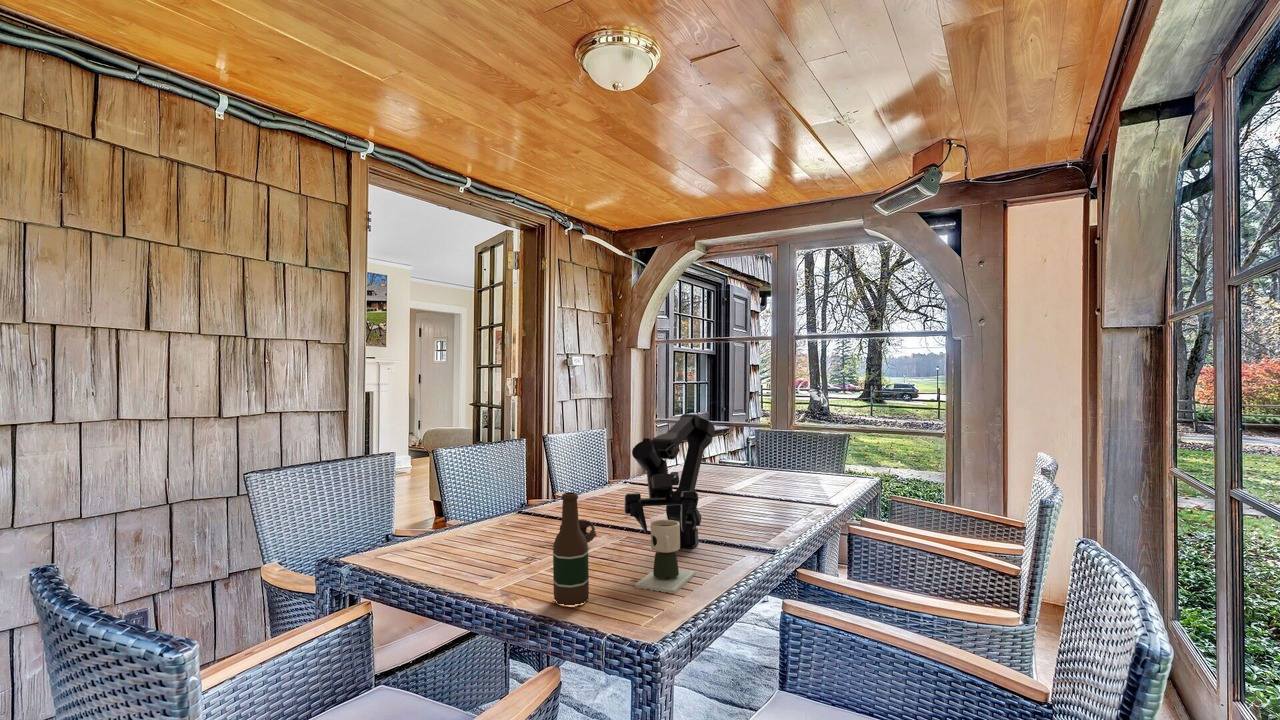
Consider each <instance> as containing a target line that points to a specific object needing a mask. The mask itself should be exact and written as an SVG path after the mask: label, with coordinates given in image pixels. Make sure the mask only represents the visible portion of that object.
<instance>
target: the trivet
mask: <svg viewBox="0 0 1280 720" xmlns="http://www.w3.org/2000/svg"><path fill="white" fill-rule="evenodd" d="M678 570H679V575H678V576H675V577H669V578H668V579H666V578H657V577H655V576H654V573H653V570H652V571H651V572H649V573H648V574H647V575H646V576H644V577H643V578H642V579H639V581H638V582H636V583H635V584H634V588H635V587H636V588H635V589H639V588H644V589H643V590H646V589H650V590H649V591H653V590H655V591H654V592H659V591H661V593H666V592H668V594H672V593H675V594H676V593H677V592H678V591H679V590H681V588H683V586H686V584H687V583H688V582H689V581H690V580H691V579H692V578H694V577H695V575H696V571H695V570H689V569H688V570H687V569H682V568H678Z"/></svg>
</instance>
